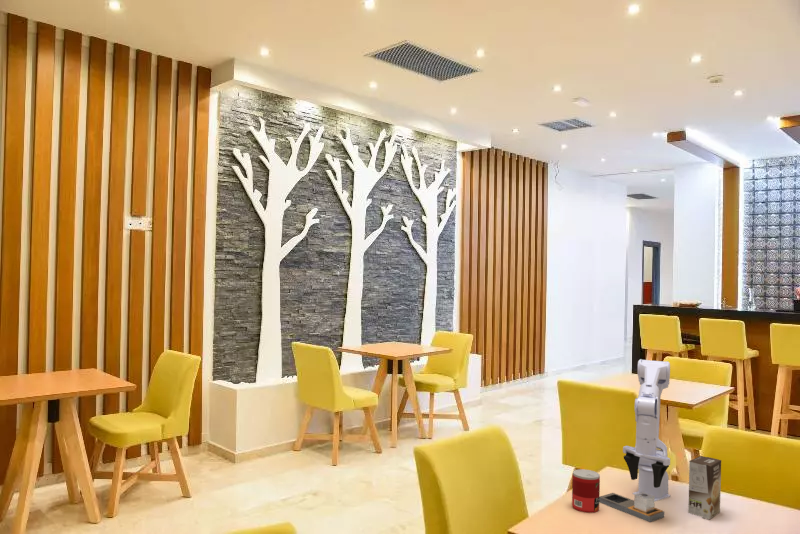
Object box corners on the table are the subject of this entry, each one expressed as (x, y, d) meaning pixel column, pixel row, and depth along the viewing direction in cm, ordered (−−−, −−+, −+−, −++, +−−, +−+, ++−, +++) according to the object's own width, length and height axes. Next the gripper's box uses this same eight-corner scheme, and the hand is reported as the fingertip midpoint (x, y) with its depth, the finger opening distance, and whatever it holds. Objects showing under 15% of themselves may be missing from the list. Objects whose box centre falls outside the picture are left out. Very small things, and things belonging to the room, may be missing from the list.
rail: (612, 498, 196) (612, 492, 196) (664, 518, 181) (664, 511, 181) (598, 503, 192) (598, 496, 192) (650, 523, 177) (650, 516, 177)
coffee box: (710, 520, 180) (711, 466, 180) (687, 513, 185) (688, 460, 185) (720, 512, 187) (721, 459, 187) (698, 506, 191) (699, 454, 191)
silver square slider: (642, 511, 185) (642, 491, 185) (654, 516, 182) (654, 495, 182) (634, 514, 183) (634, 493, 183) (646, 519, 179) (646, 498, 179)
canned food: (600, 515, 182) (601, 478, 182) (572, 512, 184) (573, 476, 184) (597, 505, 190) (598, 470, 190) (571, 503, 192) (571, 468, 192)
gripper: (617, 433, 186) (616, 478, 186) (660, 445, 174) (659, 493, 174) (631, 430, 190) (630, 474, 190) (674, 442, 178) (673, 488, 178)
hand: (645, 483), depth 182 cm, fingers open, 7 cm apart
